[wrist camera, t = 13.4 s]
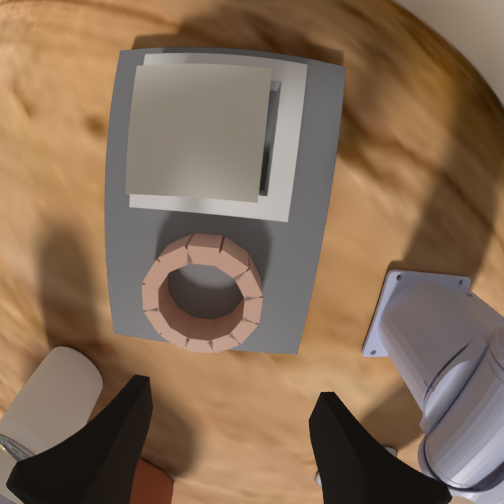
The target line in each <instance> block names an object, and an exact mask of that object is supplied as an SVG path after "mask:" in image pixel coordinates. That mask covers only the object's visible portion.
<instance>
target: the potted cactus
mask: <svg viewBox="0 0 504 504" xmlns="http://www.w3.org/2000/svg"><path fill="white" fill-rule="evenodd" d="M172 494H173V484H172V482H171V480H170V478H169V477H168V476H167V475H166V474H165V473H164V472H162V471H161V470H160V469H158V468H157V467H155V466H153V465H152V464H150V463H148V462H146V461H144V460H142V459H140V458H139V460H138V463H137V466H136V470H135V474H134V479H133V485H132V491H131V498H130V504H171V501H172ZM22 503H23V502H22ZM23 504H24V503H23Z"/></svg>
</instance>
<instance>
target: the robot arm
mask: <svg viewBox="0 0 504 504" xmlns="http://www.w3.org/2000/svg"><path fill="white" fill-rule="evenodd" d="M398 275H400V276H399V278H398V279H396V277H397V276H398ZM459 281H460V282H459ZM470 284H471V279H470V278H469V277H468V276H458V275H448V274H437V273H427V272H417V271H406V270H396V269H392V270H390V271H389V272H388V273H387V275H386V279H385V282H384V286H383V289H382V292H381V296H380V299H379V302H378V305H377V308H376V312H375V315H374V318H373V321H372V323H371V326H370V329H369V332H368V335H367V338H366V340H365V343H364V346H363V349H362V355H363V356H364V357H381V356H389V357H390V358H391V360H392V362H393V363H394V365H395V366H396V368H397V370H398V371H399V373H400V375H401V376H402V378H403V380H404V381H405V383H406V385H407V386H408V388H409V390H410V392H411V393H412V395H413V397H414V398H415V400H416V402H417V404H418V405H419V407H420V409H421V411H422V412H423V418H422V420H421V421H420V423H419V424H420V426H421V428H422V430H423V432H424V434H425V436H424V438H423V439H422V440H421V443H420V445H419V449H418V463H419V466H420V469H421V471H422V473H421V472H419V471H417V470H415V469H413V468H412V467H410V466H408V465H407V464H405V463H404V462H402V461H401V460H399V459H398V458H397V457H395V456H394V455H392V454H391V453H390V452H389V451H388V450H386V449H385V448H384V447H383V446H382V445H380V444H379V443H378V442H377V441H376V440H375V439H374V438H373V437H372V436H371V435H370V434H369V433H368V432H367V431H366V430H365V429H364V427H363V426H362V425H361V424H360V423H359V422H358V421H357V420H356V418H355V417H354V416H353V415H352V414H351V412H350V411H349V410H348V409H347V407H346V406H345V405H344V404H343V402H342V401H341V400H340V399H339V397H338V396H337V395H336V394H335V392H321V393H320V396H319V398H318V400H317V403H316V405H315V407H314V410H313V412H312V414H311V416H310V419H309V430H310V438H311V444H312V448H313V452H314V456H315V460H316V463H317V467H318V471H319V475H320V479H321V484H322V491H323V500H324V504H448V503H449V502H450V501H451V499H452V495H454V496H462V497H465V498H467V499H469V500H471V501H472V502H474V503H476V504H502V503H504V317H503V316H501V315H500V314H499V313H498V312H497V311H495V310H494V309H493V308H492V307H490V306H489V305H488V304H487V303H486V302H484V301H483V300H482V299H480V298H479V297H478V296H477V295H475V294H474V293H473V292H471V291H470V290H469V287H470ZM373 350H374V351H373ZM371 351H373V352H371ZM152 410H153V405H152V396H151V388H150V378H149V377H146V376H141V375H136V374H135V375H134V376H133V377H132V378H131V379H130V381H129V382H128V383H127V384H126V385H125V387H124V388H123V389H122V390H121V391H120V392H119V394H118V395H117V396H116V397H115V398H114V399H113V400H112V401H111V402H110V403H109V404H108V405H107V406H106V407H105V408H104V409H103V410H102V411H101V412H100V413H99V414H98V415H97V416H96V417H95V418H94V419H92V420H91V421H90V422H89V423H88V424H87V425H85V426H84V427H83V428H81V429H80V430H79V431H77V432H76V433H75V434H73V435H72V436H70V437H69V438H67V439H66V440H64V441H62V442H61V443H59V444H57V445H55V446H53V447H52V448H50V449H48V450H46V451H44V452H42V453H39V454H37V455H34V456H32V457H29V458H26V459H24V460H21V461H18V462H17V463H16V465H15V466H14V468H13V470H12V472H11V474H10V476H9V478H8V481H7V483H6V486H7V488H8V489H9V490H10V491H11V492H12V493H13V494H14V495H15V496H17V497H18V498H19V499H20V500H21V501H22V502H23V503H24V504H130V498H131V491H132V485H133V479H134V474H135V470H136V466H137V463H138V460H139V457H140V454H141V451H142V448H143V445H144V442H145V439H146V435H147V432H148V429H149V425H150V420H151V415H152ZM0 504H16V503H14V502H13V501H11V500H9V499H8V498H6V497H4V496H3V495H1V494H0Z"/></svg>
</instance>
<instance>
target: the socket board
mask: <svg viewBox="0 0 504 504" xmlns="http://www.w3.org/2000/svg"><path fill="white" fill-rule="evenodd" d="M158 64H222V65H238V66H250V67H261V68H270V69H272V75H271V84H270V94H269V103H268V112H267V122H266V131H265V140H264V150H263V159H262V168H261V178H260V187H259V196H258V203H252V202H241V201H230V200H218V199H205V198H192V197H176V196H160V195H140V194H125V191H126V163H127V146H128V133H129V122H130V112H131V103H132V95H133V88H134V81H135V74H136V68H137V66H142V65H158ZM345 72H346V67H343V66H339V65H335V64H331V63H327V62H322V61H318V60H313V59H308V58H302V57H297V56H291V55H285V54H278V53H271V52H263V51H254V50H244V49H232V48H214V47H162V48H144V49H132V50H122V51H120V55H119V60H118V65H117V71H116V77H115V82H114V89H113V95H112V103H111V110H110V119H109V128H108V139H107V152H106V169H105V247H106V265H107V278H108V289H109V299H110V307H111V315H112V323H113V330H114V333H116V334H121V335H126V336H132V337H138V338H143V339H150V340H156V341H162V342H169V343H173V344H174V345H176V346H178V347H180V348H181V349H184V348H185V347H186V351H194V352H202V353H211V354H212V351H214V353H217V352H220V351H224V350H238V351H250V352H264V353H282V354H297V353H298V349H299V345H300V341H301V337H302V333H303V329H304V325H305V321H306V316H307V312H308V308H309V303H310V299H311V294H312V290H313V285H314V281H315V276H316V271H317V266H318V261H319V256H320V251H321V246H322V241H323V235H324V230H325V224H326V219H327V213H328V207H329V201H330V195H331V188H332V182H333V175H334V169H335V162H336V154H337V147H338V139H339V131H340V123H341V114H342V104H343V94H344V84H345Z"/></svg>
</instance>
